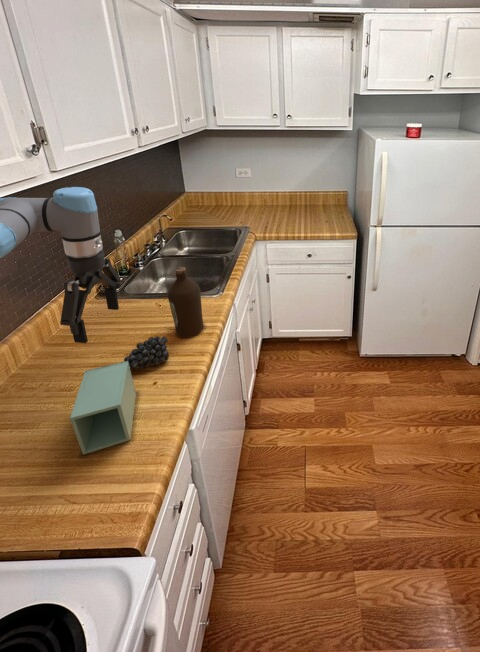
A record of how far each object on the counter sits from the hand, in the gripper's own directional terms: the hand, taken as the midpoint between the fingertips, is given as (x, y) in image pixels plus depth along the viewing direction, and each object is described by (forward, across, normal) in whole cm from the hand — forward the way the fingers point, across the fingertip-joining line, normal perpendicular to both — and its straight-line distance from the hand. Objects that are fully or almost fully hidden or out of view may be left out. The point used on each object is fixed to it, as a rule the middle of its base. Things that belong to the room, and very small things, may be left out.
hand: (98, 324), depth 87 cm
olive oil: (+22, +27, -13) cm, 38 cm away
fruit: (+23, +10, -6) cm, 26 cm away
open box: (+16, -10, -6) cm, 20 cm away
